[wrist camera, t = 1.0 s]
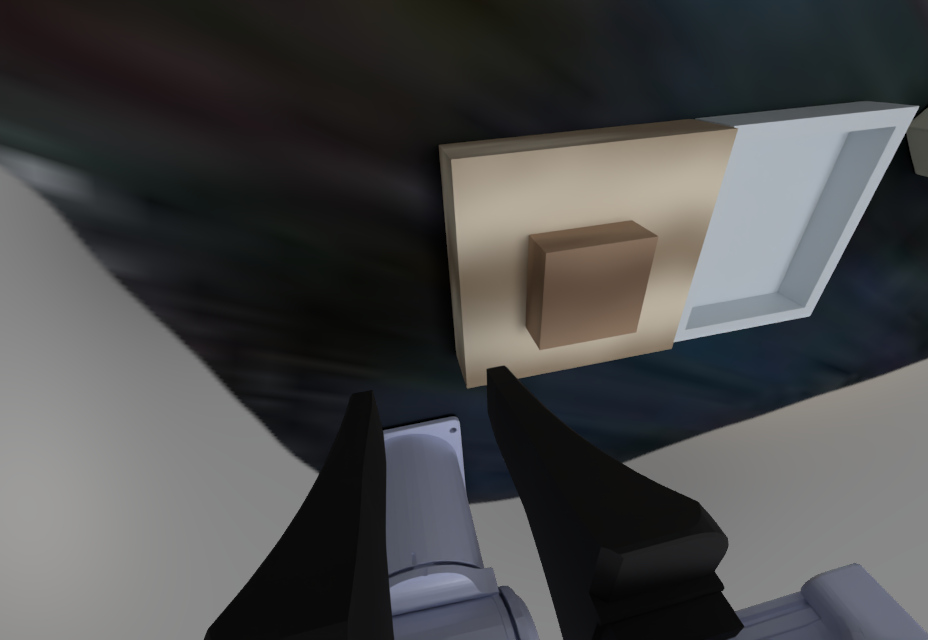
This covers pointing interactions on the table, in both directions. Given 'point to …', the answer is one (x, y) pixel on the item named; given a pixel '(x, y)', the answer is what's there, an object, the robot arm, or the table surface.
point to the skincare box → (919, 143)
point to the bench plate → (567, 207)
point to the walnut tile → (587, 282)
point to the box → (787, 210)
